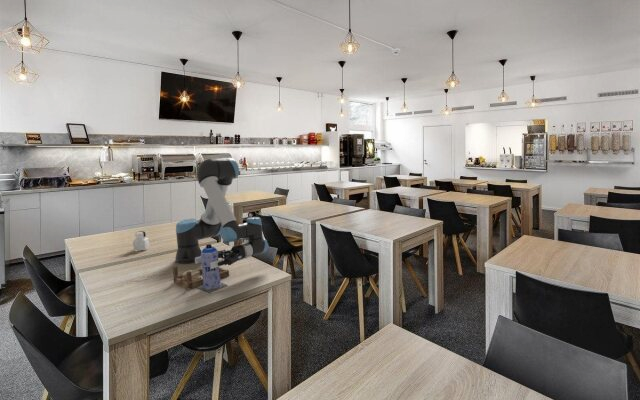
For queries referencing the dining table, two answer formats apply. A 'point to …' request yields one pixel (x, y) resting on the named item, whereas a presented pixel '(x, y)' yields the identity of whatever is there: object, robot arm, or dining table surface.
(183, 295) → the dining table surface
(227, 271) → the rack
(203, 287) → the mat
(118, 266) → the dining table surface
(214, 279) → the aerosol can
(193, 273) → the offcut top
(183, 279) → the offcut low
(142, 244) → the medicine bottle
